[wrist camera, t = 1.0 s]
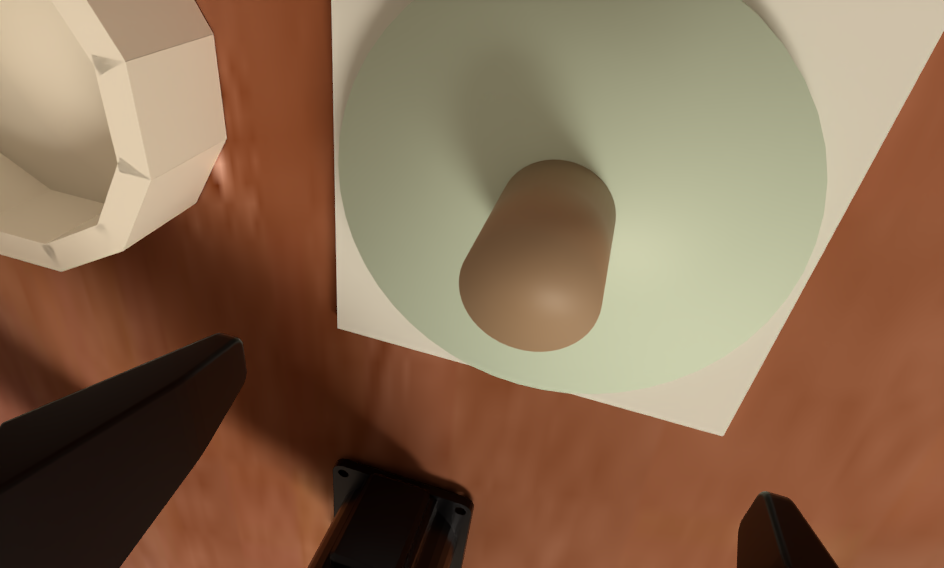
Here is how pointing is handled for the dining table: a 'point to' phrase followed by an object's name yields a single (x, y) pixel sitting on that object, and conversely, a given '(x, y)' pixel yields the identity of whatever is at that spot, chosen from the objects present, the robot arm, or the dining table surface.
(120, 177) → the bowl
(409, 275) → the lid
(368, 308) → the mat
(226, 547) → the dining table surface
